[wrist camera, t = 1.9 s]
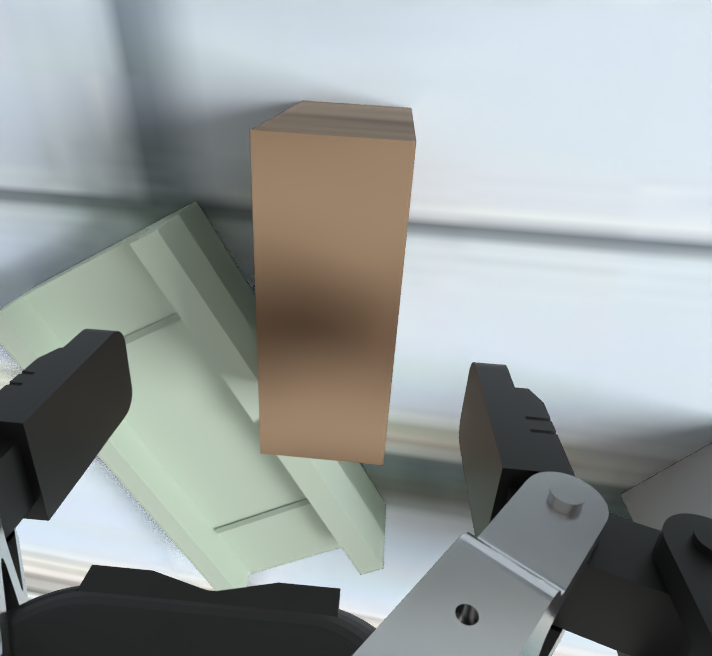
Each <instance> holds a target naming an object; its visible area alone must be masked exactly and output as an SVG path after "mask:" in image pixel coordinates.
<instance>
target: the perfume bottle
mask: <svg viewBox="0 0 712 656" xmlns="http://www.w3.org/2000/svg"><path fill="white" fill-rule="evenodd" d="M621 497H622V499H623V501H624V503H625V505H626V507H627V509H628V511H629V513H630V515H631V517H632V519H633V522H636V523H639V524H642V525H645V526H648V527H651V528H654V529H657V530H660V531H661V529H662V527H663V524H664V522H665V521H666V520H667V519H668V518H669V517H671V516H673V515H676V514H682V513H688V514H696V515H701V516H704V517H708V518H710V519H712V443H711V444H709V445H707V446H706V447H704V448H702V449H700V450H699V451H697V452H695V453H693V454H691V455H690V456H688V457H686V458H684V459H683V460H681V461H679V462H677V463H675V464H674V465H672V466H670V467H668V468H667V469H665V470H663V471H661V472H660V473H658V474H656V475H654V476H652V477H651V478H649V479H647V480H645V481H644V482H642V483H640V484H638V485H636V486H635V487H633V488H631V489H629V490H628V491H626V492H624V493H622V494H621Z"/></svg>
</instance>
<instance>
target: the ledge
mask: <svg viewBox="0 0 712 656" xmlns="http://www.w3.org/2000/svg"><path fill="white" fill-rule="evenodd" d="M84 329H99V330H111V331H119V332H121V333H122V334H123V336H124V339H125V343H126V350H127V356H128V363H129V370H130V377H131V384H132V401H131V405H130V409H129V411H128V413H127V415H126V416H125V418H124V419H123V421H122V422H121V423H120V425H119V426H118V427H117V429H116V430H115V431H114V433H113V434H112V436H111V437H110V438H109V440H108V441H107V442H106V444H105V445H104V446H103V448H102V449H101V450H100V452H99V453H98V456H99V458H100V459H101V460H102V461H103V462H104V463H105V464H106V466H107V467H108V468H109V469H110V470H111V471H112V473H113V474H114V475H115V476H116V477H117V478H118V479H119V481H120V482H121V483H122V484H123V485H124V486H125V487H126V489H127V490H128V491H129V492H130V493H131V494H132V495H133V497H134V498H135V499H136V500H137V501H138V502H139V503H140V505H141V506H142V507H143V508H144V509H145V510H146V511H147V513H148V514H149V515H150V516H151V517H152V518H153V519H154V521H155V522H156V523H157V524H158V525H159V526H160V528H161V529H162V530H163V531H164V532H165V533H166V534H167V536H168V537H169V538H170V539H171V540H172V541H173V542H174V544H175V545H176V546H177V547H178V548H179V549H180V550H181V552H182V553H183V554H184V555H185V556H186V557H187V558H188V560H189V561H190V562H191V563H192V564H193V565H194V566H195V568H196V569H197V570H198V571H199V572H200V573H201V575H202V576H203V577H204V578H205V579H206V580H207V581H208V583H209V584H210V585H211V586H212V587H213V588H214V589H215V591H220V590H227V589H235V588H243V587H247V584H248V581H249V578H250V574H253V573H256V572H260V571H263V570H267V569H270V568H273V567H277V566H280V565H283V564H287V563H290V562H294V561H297V560H300V559H304V558H307V557H311V556H314V555H317V554H321V553H324V552H327V551H331V550H334V549H338V548H342V549H343V550H344V552H345V553H346V555H347V556H348V558H349V559H350V560H351V562H352V563H353V565H354V566H355V568H356V569H357V570H358V572H359V573H360V575H362V574H366V573H369V572H373V571H376V570H380V569H384V543H385V516H386V504H385V502H384V501H383V499H382V498H381V496H380V494H379V493H378V491H377V490H376V488H375V486H374V485H373V483H372V482H371V480H370V478H369V477H368V475H367V474H366V472H365V470H364V469H363V467H362V466H361V464H360V463H355V462H344V461H334V460H323V459H312V458H302V457H291V456H281V455H270V454H260V425H259V394H258V363H257V333H256V302H255V294H254V292H253V291H252V289H251V288H250V286H249V284H248V283H247V281H246V280H245V278H244V276H243V275H242V273H241V272H240V270H239V268H238V267H237V265H236V264H235V262H234V260H233V259H232V257H231V256H230V254H229V252H228V251H227V249H226V248H225V246H224V244H223V243H222V241H221V240H220V238H219V236H218V235H217V233H216V232H215V230H214V228H213V227H212V225H211V224H210V222H209V220H208V219H207V217H206V216H205V214H204V212H203V211H202V209H201V208H200V206H199V204H198V203H197V201H195V202H193V203H191V204H189V205H187V206H185V207H183V208H182V209H180V210H178V211H176V212H174V213H172V214H170V215H168V216H167V217H165V218H163V219H161V220H159V221H157V222H155V223H153V224H151V225H150V226H148V227H146V228H144V229H142V230H140V231H138V232H136V233H135V234H133V235H131V236H129V237H127V238H125V239H123V240H121V241H119V242H118V243H116V244H114V245H112V246H110V247H108V248H106V249H104V250H103V251H101V252H99V253H97V254H95V255H93V256H91V257H89V258H88V259H86V260H84V261H82V262H80V263H78V264H76V265H74V266H72V267H71V268H69V269H67V270H65V271H63V272H61V273H59V274H57V275H56V276H54V277H52V278H50V279H48V280H46V281H44V282H42V283H40V284H39V285H37V286H35V287H33V288H32V289H30V290H29V291H27V292H25V293H24V294H22V295H21V296H19V297H18V298H16V299H15V300H13V301H12V302H10V303H9V304H7V305H5V306H4V307H2V308H1V309H0V344H1V345H2V346H3V348H4V349H5V350H6V351H7V352H8V353H9V354H10V356H11V357H12V358H13V359H14V360H15V361H16V362H17V364H18V365H19V366H20V367H21V368H22V369H23V370H24V369H25V368H27V367H28V366H29V365H30V364H31V363H32V362H34V361H35V360H36V359H37V358H39V357H41V356H43V355H45V354H47V353H49V352H51V351H53V350H55V349H57V348H60V347H61V348H63V347H64V346H65V345H67V344H68V343H69V342H70V341H71V340H72V339H73V338H74V337H75V336H77V335H78V334H79V333H80V332H81V331H82V330H84Z"/></svg>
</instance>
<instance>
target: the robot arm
mask: <svg viewBox="0 0 712 656" xmlns="http://www.w3.org/2000/svg"><path fill="white" fill-rule="evenodd" d="M131 401H132V384H131V377H130V370H129V363H128V356H127V350H126V343H125V339H124V336H123V334H122V333H121V332H119V331H111V330H99V329H84V330H82V331H81V332H80V333H79V334H78V335H77V336H75V337H74V338H73V339H72V340H71V341H70V342H69V343H68V344H67V345H65V346H64V347H63V348H61V347H60V348H57V349H55V350H53V351H51V352H49V353H47V354H45V355H43V356H41V357H39V358H37V359H36V360H35V361H34V362H32V363H31V364H30V365H29V366H28V367H27V368H25V369H24V370H23V371H22V374H18V375H17V376H16V377H15V378H14V379H13V380H11V381H10V384H9V385H6V386H4V387H3V388H2V389H1V390H0V656H552V654H553V653H554V651H555V649H556V647H557V645H558V644H559V642H560V640H561V638H562V636H563V635H564V633H565V631H566V630H567V631H569V632H572V633H574V634H577V635H579V636H582V637H584V638H587V639H589V640H592V641H594V642H597V643H599V644H602V645H604V646H607V647H609V648H612V649H614V650H617V653H618V656H712V519H710V518H708V517H704V516H701V515H696V514H688V513H682V514H676V515H673V516H671V517H669V518H668V519H667V520H666V521H665V522H664V524H663V527H662V529H661V531H660V530H657V529H654V528H651V527H648V526H645V525H642V524H639V523H636V522H633V521H629V520H626V519H624V518H621V517H618V516H616V515H614V514H612V513H610V512H609V511H608V506H607V504H606V502H605V500H604V499H603V497H602V496H601V495H600V494H599V492H598V491H596V490H595V489H594V488H593V487H592V486H590V485H589V484H588V483H586V482H584V481H582V480H581V479H578V478H576V477H575V475H574V472H573V470H572V468H571V465H570V463H569V461H568V458H567V456H566V454H565V451H564V449H563V447H562V444H561V442H560V440H559V437H558V435H556V431H555V428H554V426H553V424H552V422H551V421H550V417H549V414H548V412H547V410H546V407H545V405H544V403H543V402H542V401H541V400H540V399H539V398H538V397H537V396H536V395H535V394H534V393H532V392H531V391H530V390H529V389H526V388H515V387H514V384H513V382H512V379H511V376H510V373H509V371H508V368H507V366H506V365H499V364H487V363H476V362H473V363H472V364H471V367H470V371H469V376H468V381H467V386H466V392H465V397H464V403H463V408H462V413H461V419H460V429H459V443H460V450H461V456H462V462H463V468H464V474H465V480H466V485H467V491H468V497H469V503H470V509H471V515H472V521H473V527H474V532H475V536H474V535H472V534H470V533H468V532H467V533H464V534H463V535H461V536H460V537H459V538H458V539H457V540H456V541H455V542H454V543H453V545H452V546H451V547H450V548H449V549H448V550H447V551H446V552H445V553H444V555H443V556H442V557H441V558H440V559H439V560H438V561H437V562H436V563H435V564H434V566H433V567H432V568H431V569H430V570H429V571H428V572H427V573H426V574H425V576H424V577H423V578H422V579H421V580H420V581H419V582H418V583H417V584H416V585H415V587H414V588H413V589H412V590H411V591H410V592H409V593H408V594H407V595H406V597H405V598H404V599H403V600H402V601H401V602H400V603H399V604H398V605H397V606H396V608H395V609H394V610H393V611H392V612H391V613H390V614H389V615H388V616H387V618H386V619H385V620H384V621H383V622H382V623H381V624H380V625H379V626H378V628H377V629H376V628H375V627H373V626H372V625H370V624H369V623H367V622H366V621H364V620H362V619H360V618H358V617H356V616H355V615H353V614H351V613H348V612H345V611H343V610H340V609H339V600H340V589H339V588H328V587H318V586H308V585H297V584H287V583H273V584H265V585H258V586H250V587H243V588H235V589H227V590H220V591H208V590H205V589H202V588H199V587H196V586H193V585H191V584H188V583H185V582H183V581H180V580H177V579H174V578H172V577H169V576H166V575H163V574H161V573H158V572H155V571H152V570H142V569H131V568H121V567H110V566H100V565H92V566H91V568H90V569H89V571H88V573H87V574H86V576H85V578H84V580H83V581H82V583H81V585H80V586H75V587H70V588H65V589H61V590H57V591H54V592H51V593H48V594H45V595H41V596H39V597H36V598H34V599H32V600H29V601H28V595H27V589H26V583H25V576H24V570H23V563H22V557H21V550H20V544H19V538H18V535H17V532H16V527H17V525H18V524H19V523H20V521H21V520H22V519H23V518H26V519H36V520H47V521H49V520H50V519H51V517H52V516H53V514H54V513H55V512H56V510H57V509H58V508H59V506H60V505H61V504H62V502H63V501H64V499H65V498H66V497H67V495H68V494H69V493H70V491H71V490H72V489H73V487H74V486H75V484H76V483H77V482H78V480H79V479H80V478H81V476H82V475H83V474H84V472H85V471H86V470H87V468H88V467H89V465H90V464H91V463H92V461H93V460H94V459H95V457H96V456H97V455H98V453H99V452H100V450H101V449H102V448H103V446H104V445H105V444H106V442H107V441H108V440H109V438H110V437H111V436H112V434H113V433H114V431H115V430H116V429H117V427H118V426H119V425H120V423H121V422H122V421H123V419H124V418H125V416H126V415H127V413H128V411H129V409H130V405H131Z"/></svg>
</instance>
